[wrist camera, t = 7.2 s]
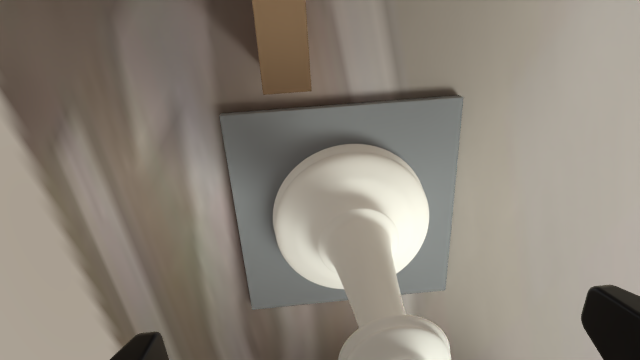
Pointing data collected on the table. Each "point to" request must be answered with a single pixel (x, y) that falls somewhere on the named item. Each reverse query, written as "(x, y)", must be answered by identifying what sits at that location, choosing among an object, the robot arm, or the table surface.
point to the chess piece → (360, 244)
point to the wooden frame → (282, 45)
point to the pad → (321, 133)
